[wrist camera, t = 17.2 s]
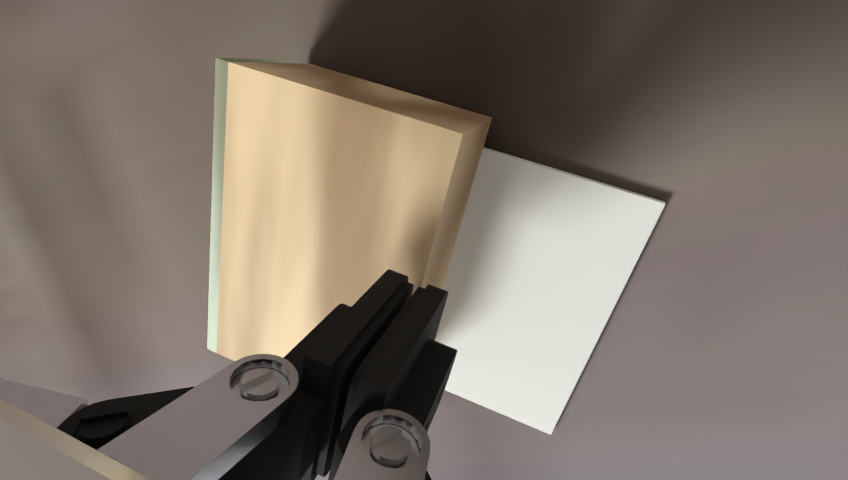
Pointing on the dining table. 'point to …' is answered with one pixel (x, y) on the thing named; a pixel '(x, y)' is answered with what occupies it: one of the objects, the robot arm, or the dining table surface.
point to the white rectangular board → (536, 282)
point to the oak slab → (325, 196)
